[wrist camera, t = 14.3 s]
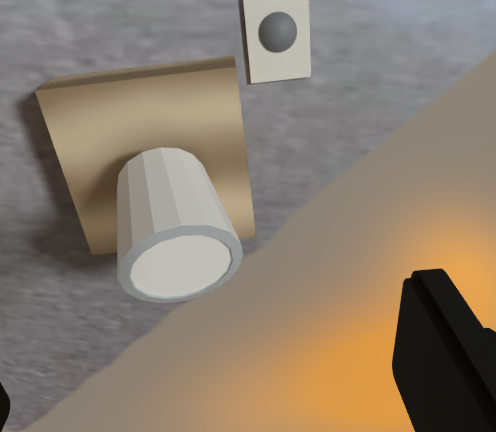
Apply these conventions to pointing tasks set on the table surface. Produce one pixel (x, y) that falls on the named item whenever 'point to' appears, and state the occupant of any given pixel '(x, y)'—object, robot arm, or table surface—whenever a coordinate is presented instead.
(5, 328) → the table surface
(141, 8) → the table surface
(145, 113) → the maple block
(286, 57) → the push button plate
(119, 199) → the light grey cup
